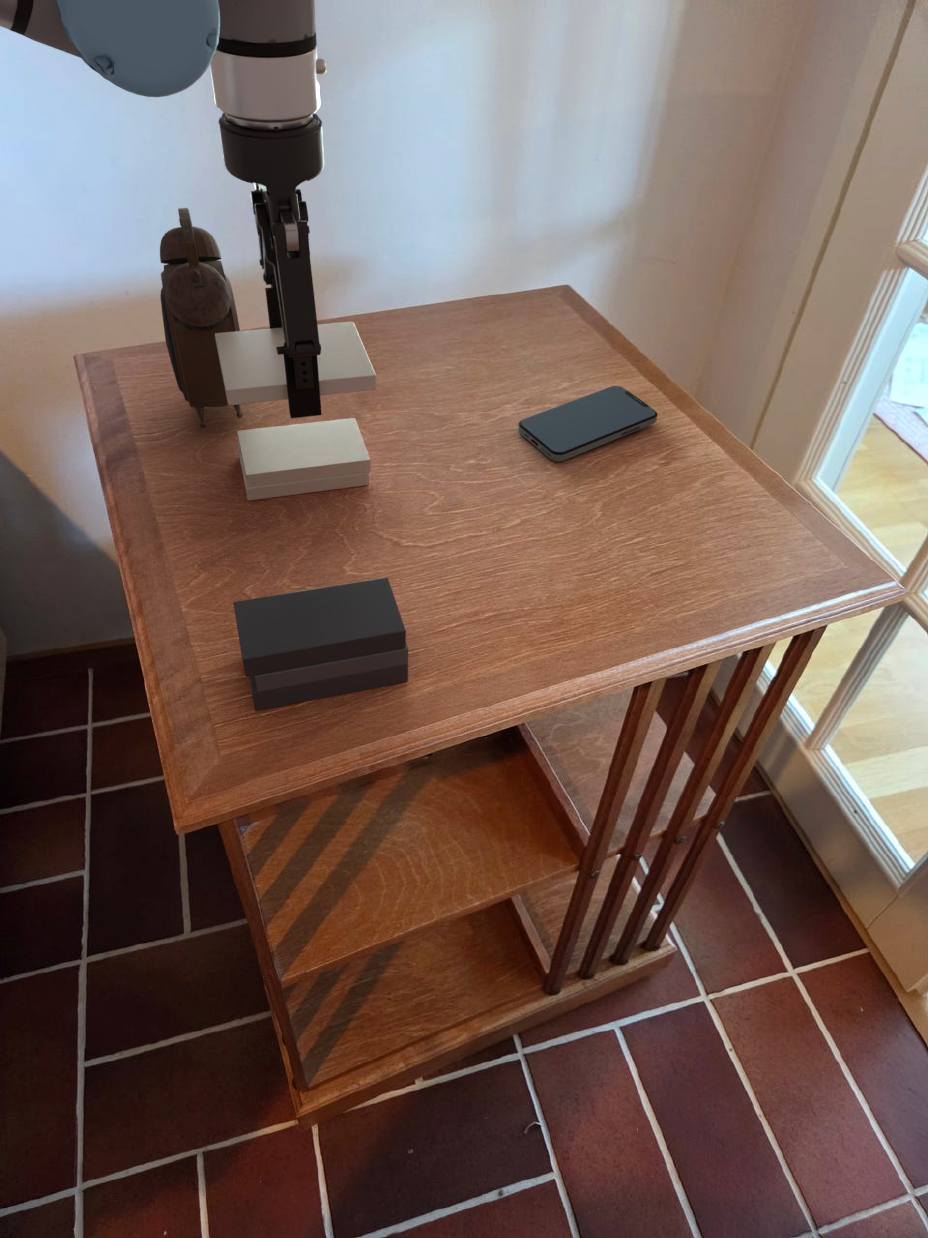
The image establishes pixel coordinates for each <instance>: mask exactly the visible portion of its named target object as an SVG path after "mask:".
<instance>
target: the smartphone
mask: <svg viewBox="0 0 928 1238" xmlns="http://www.w3.org/2000/svg"><path fill="white" fill-rule="evenodd" d="M658 414H659V413H658V412H657V411H656V410H655V409H654V408H653V407H652V406H649V404H647V403H646V402H645V401H644V400H642V399H640V398H639V397H637V396H636V395H635V394H633V393H632V392H631V391H629V390H627V389H626V388H625V387H623V386H620V385H611V386H608V387H606V388H603V389H601V390H598V391H596V392H592V393H590V394H587V395H584V396H582V397H580V398H577V399H574V400H572V401H569V402H565V403H564V404H560V405H558V406H556V407H552V408H550V409H547V410H545V411H542V412H539V413H537V414H534V415H531V416H528V417H526V418H524V419H521V420H520V421H519V422H518V428H517V430H518V431H517V432H518V433H519V434H520V435H521V436H522V437H523V438H525V439H526V440H527V441H528V442H529V443H530V444H531V445H533V446H534V447H535V448H537V449H538V450H539V451H540V452H541V453H542V454H544V455H545V456H546V457H547V458H548V459H550V461H553V462H563V461H566V460H569V459H571V458H573V457H575V456H576V457H577V456H578V455H581V454H584V453H585V452H588V451H591V450H593V449H595V448H598V447H600V446H603V445H605V444H608V443H610V442H613V441H615V440H617V439H621V438H622V437H626V436H628V435H630V434H633V433H634V432H637V431H640V430H642V429H645V428H646V427H647V428H648V427H649V426H651V425H654V424H655V423H656V422H657V419H658Z"/></svg>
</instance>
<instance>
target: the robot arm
mask: <svg viewBox="0 0 928 1238" xmlns="http://www.w3.org/2000/svg"><path fill="white" fill-rule="evenodd" d="M315 2H316V1H315V0H0V27H1V28H4V29H7V30H9V31H11V32H14V33H16V34H19V35H21V36H24V37H26V38H27V39H29V40H32V41H33V42H37V43H39V44H43V45H45V46H47V47H50V48H52V49H56V50H58V51H61V52H64V53H66V54H70V55H72V56H75V57H77V58H79V59H81V60H82V61H83V63H85V65H87V66H88V67H89V68H90V69H91V70H93V72H95V73H97V74H99V75H100V76H101V77H102V78H103V79H105V80H106V81H108V82H110V83H111V84H113V85H115V86H116V87H118V88H119V89H122V90H123V91H126V92H128V93H131V94H134V95H137V96H142V97H147V98H163V97H170V96H172V95H176V94H179V93H181V92H183V91H185V90H187V89H189V88H190V87H191V86H193V85H194V84H196V83H197V82H198V81H199V80H200V79H201V77H202V76H203V75H204V74H205V73H206V72H207V70H208V69H209V68H210V75H211V84H212V90H213V98H214V104H215V106H216V108H217V109H218V110H220V112H222V113H221V115H220V117H219V119H218V128H219V134H220V143H221V150H222V157H223V164H224V167H225V169H226V170H227V172H228V173H229V174H230V175H231V176H233V178H236V179H238V180H240V181H242V182H246V183H249V184H253V190H250V191H249V192H250V193H249V195H250V202H251V203H250V204H251V208H252V213H253V215H254V222H255V226H256V227H255V228H256V232H257V236H258V246H259V247H258V248H259V257H260V258H259V260H258V261H259V266H261V269H262V270H263V275H262V279H263V282H264V283H265V285H266V286H270V287H265V288H264V291H265V298H266V299H265V300H266V307H267V315H268V325H269V329H271V328H283V334H284V341H285V342H284V346H281V347H276V349H277V354H278V355H281V354H283V355H284V365H285V374H286V384H287V393H288V399H287V402H288V411H289V416H290V419H298V418H307V417H318V416H322V415H323V414H322V403H321V396H320V387H319V374H318V360H317V355H320V353H321V344H320V343H319V335H318V326H317V325H318V320H317V319H318V317H317V316H318V315H317V311H316V310H317V308H316V300H315V299H316V298H315V291H314V290H315V289H314V281H313V280H314V279H313V272H312V263H311V250H310V239H309V238H310V237H309V235H310V234H311V233H310V231H311V229H310V226H309V225H308V222H309V213H308V206H307V205H308V204H307V201H306V200H303V196H302V190H301V189H300V188H297V187H298V186H299V185H301V184H303V183H304V182H306V181H307V182H309V181H312V180H314V179H316V178H317V177H318V176H320V175H321V174H322V172H323V170H324V168H325V153H324V152H325V149H324V134H323V132H324V131H323V121H322V120H321V118H320V117H319V116H318V114H317V112H318V110H319V109H321V94H320V82H319V80H318V77H317V76H322V75H325V74H326V73H327V63H326V60H325V59H323V58H321V57H319V58H318V49H317V45H318V44H317V43H318V42H317V30H316V6H315V5H316V3H315Z"/></svg>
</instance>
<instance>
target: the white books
mask: <svg viewBox="0 0 928 1238" xmlns="http://www.w3.org/2000/svg"><path fill="white" fill-rule="evenodd" d="M236 433H237V440H238V444H237V445H236V446H237V452H238V459H239V463H240V464H239V465H240V468H241V474H242V479H243V483H244V489H245V493H246V499H247V501H257V500H265V499H273V498H281V497H288V496H293V495H294V496H295V495H302V494H303V495H304V494H311V493H316V492H317V493H319V492H324V491H325V492H326V491H332V490H339V489H347V488H355V487H364V486H369V485H370V473H371V472H372V468H371V467H372V464H371V463H372V462H371V458H370V455H369V452H368V449H367V447H366V444H365V441H364V438H363V436H362V433H361V430H360V428H359V425H358V422H357V419H356V417H350V418H340V419H331V420H324V421H314V422H313V421H312V422H303V423H296V424H286V425H277V426H269V427H268V426H267V427H259V428H251V429H242V430H241V429H240V430H237V431H236Z"/></svg>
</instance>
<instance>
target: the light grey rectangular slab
mask: <svg viewBox="0 0 928 1238" xmlns="http://www.w3.org/2000/svg"><path fill="white" fill-rule="evenodd" d="M317 326H318V335H319V343H320V344H321V353H320V355H317V360H318V374H319V387H320V397H321V396H331V395H341V394H349V393H358V392H359V393H361V392H369V391H376V390H377V374H376V371H375V370H374V367H373V364H372V362H371V360H370V357H369V355H368V353H367V350H366V348H365V346H364V343H363V341H362V339H361V336H360V334H359V331H358V329H357V327H356V324H355V321H343V322H333V323H331V322H330V323H321V324H320V323H317ZM215 339H216V345H217V350H218V355H219V360H220V365H221V371H222V376H223V381H224V386H225V391H226V396H227V401H228V405H227V406H233V405H237V404H240V405H245V404H255V403H264V402H273V401H283V400H288V393H287V384H286V374H285V365H284V355H283V354H281V355H278V354H277V349H276V347H281V346H284V342H285V341H284V334H283V328H271V329H270V328H262V329H261V328H260V329H249V330H248V329H247V330H240V331H236V332H224V333H215Z"/></svg>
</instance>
